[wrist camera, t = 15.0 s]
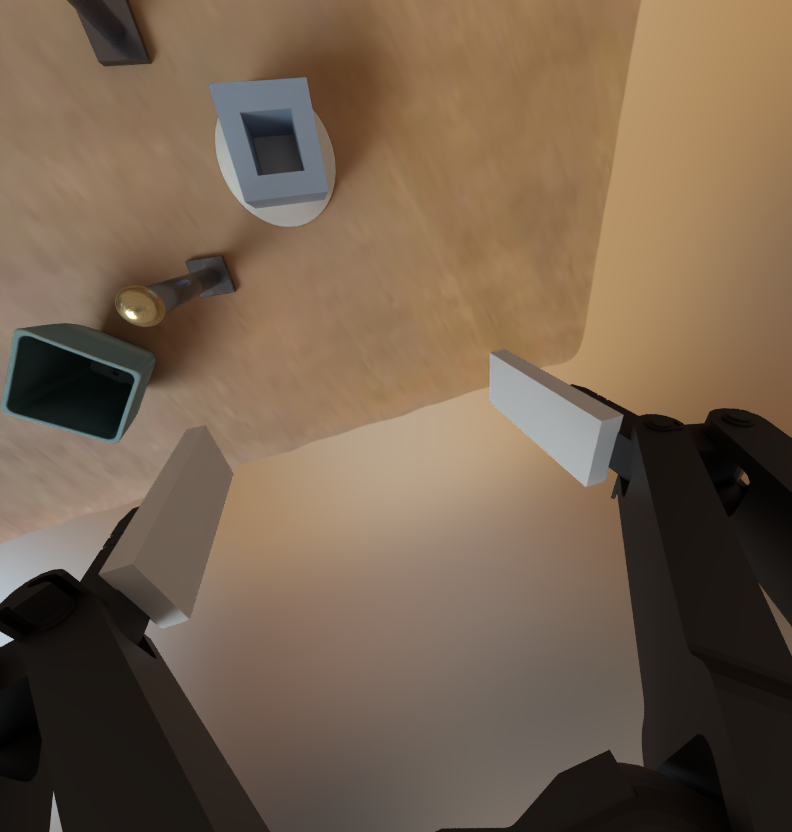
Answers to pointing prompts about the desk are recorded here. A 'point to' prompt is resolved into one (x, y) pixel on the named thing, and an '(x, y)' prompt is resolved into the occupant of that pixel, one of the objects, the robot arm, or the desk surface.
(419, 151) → the desk surface
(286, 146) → the white round disc
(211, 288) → the gold-tipped post pair
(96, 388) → the flower pot
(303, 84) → the hollow square tube
